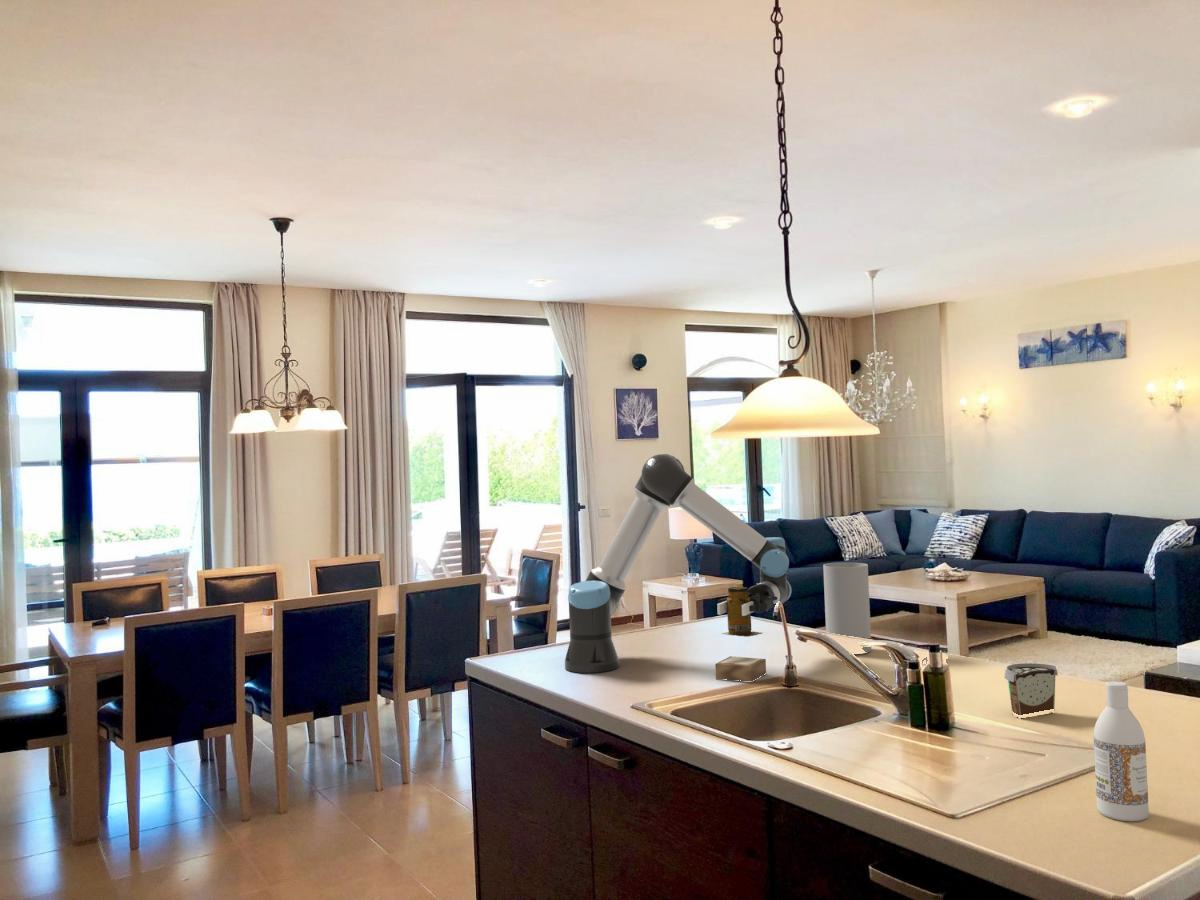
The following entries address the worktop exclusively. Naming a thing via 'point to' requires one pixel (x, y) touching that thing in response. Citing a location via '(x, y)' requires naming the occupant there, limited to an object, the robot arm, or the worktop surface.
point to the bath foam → (1120, 759)
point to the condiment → (738, 613)
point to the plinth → (740, 668)
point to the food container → (1031, 687)
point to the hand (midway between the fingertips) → (730, 609)
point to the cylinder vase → (847, 600)
